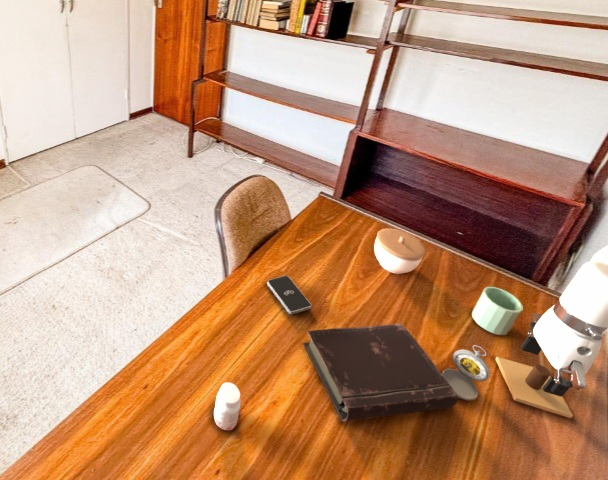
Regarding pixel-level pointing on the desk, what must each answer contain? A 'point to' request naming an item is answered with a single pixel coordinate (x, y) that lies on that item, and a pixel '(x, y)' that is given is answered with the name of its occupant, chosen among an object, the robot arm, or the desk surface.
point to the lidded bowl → (398, 250)
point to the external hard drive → (289, 295)
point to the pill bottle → (227, 406)
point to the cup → (497, 310)
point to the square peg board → (531, 386)
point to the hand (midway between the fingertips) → (539, 371)
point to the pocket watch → (467, 373)
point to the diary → (377, 372)
